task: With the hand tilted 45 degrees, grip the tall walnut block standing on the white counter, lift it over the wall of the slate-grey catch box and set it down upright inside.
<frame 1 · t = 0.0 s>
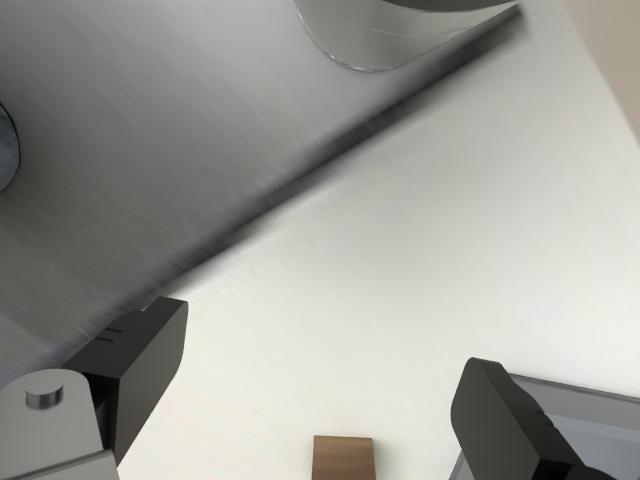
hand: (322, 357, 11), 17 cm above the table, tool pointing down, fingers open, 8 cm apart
catch box: (551, 461, 34), on the table
walnut block: (341, 458, 35), on the table
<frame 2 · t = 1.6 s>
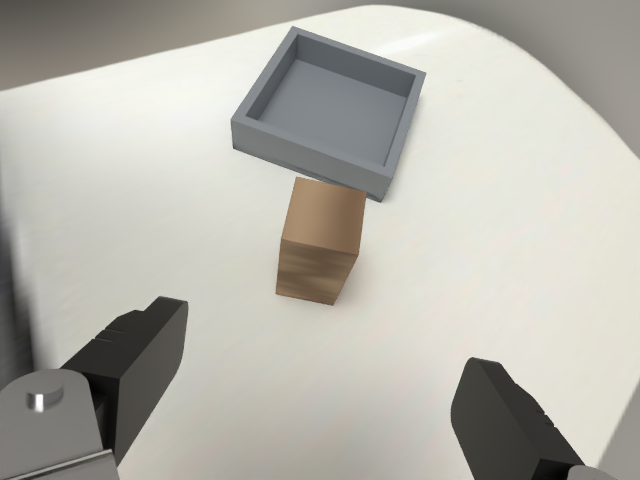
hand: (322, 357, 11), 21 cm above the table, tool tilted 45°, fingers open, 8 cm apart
catch box: (330, 122, 43), on the table
walnut block: (309, 273, 35), on the table
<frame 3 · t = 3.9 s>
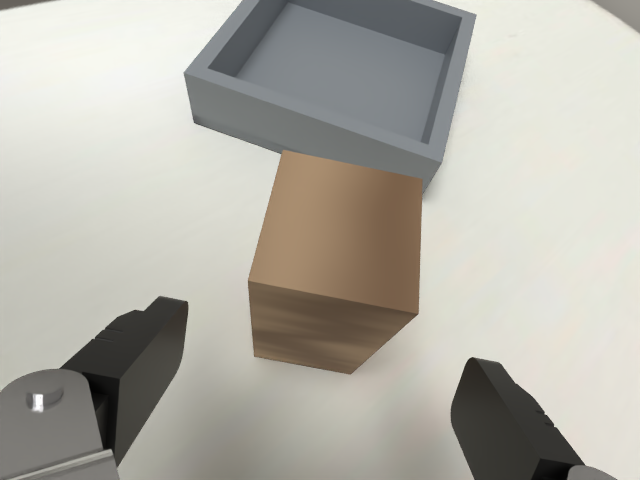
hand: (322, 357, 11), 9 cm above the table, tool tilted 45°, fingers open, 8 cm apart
catch box: (339, 87, 30), on the table
walnut block: (310, 318, 21), on the table
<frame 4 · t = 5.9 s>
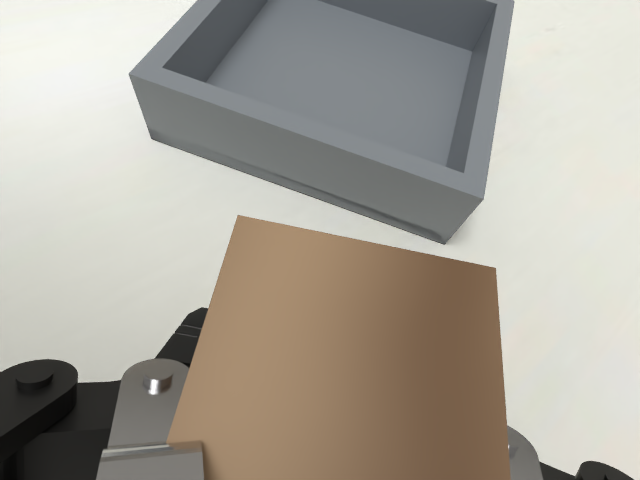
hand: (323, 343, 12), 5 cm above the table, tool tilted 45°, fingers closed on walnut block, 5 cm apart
catch box: (341, 92, 24), on the table
walnut block: (299, 421, 15), on the table, touching gripper
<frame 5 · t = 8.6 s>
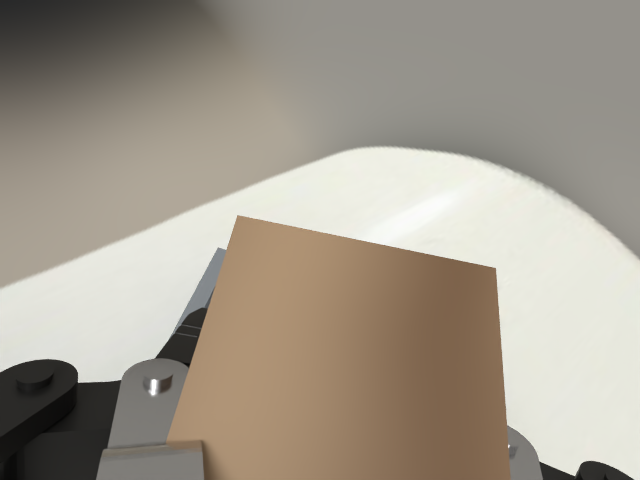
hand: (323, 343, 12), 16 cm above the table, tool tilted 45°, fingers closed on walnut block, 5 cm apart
catch box: (285, 419, 25), on the table
walnut block: (300, 422, 15), point 11 cm above the table, touching gripper
when the fingers open (7 cm above the table, at t = 11.2 s): walnut block drops 2 cm, resting on catch box.
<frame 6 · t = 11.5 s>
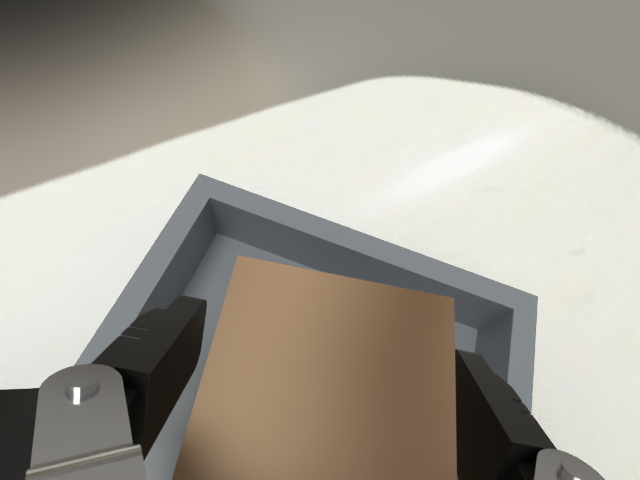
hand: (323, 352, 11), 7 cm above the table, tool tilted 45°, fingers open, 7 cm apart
catch box: (294, 425, 17), on the table
walnut block: (294, 425, 16), point 1 cm above the table, touching catch box
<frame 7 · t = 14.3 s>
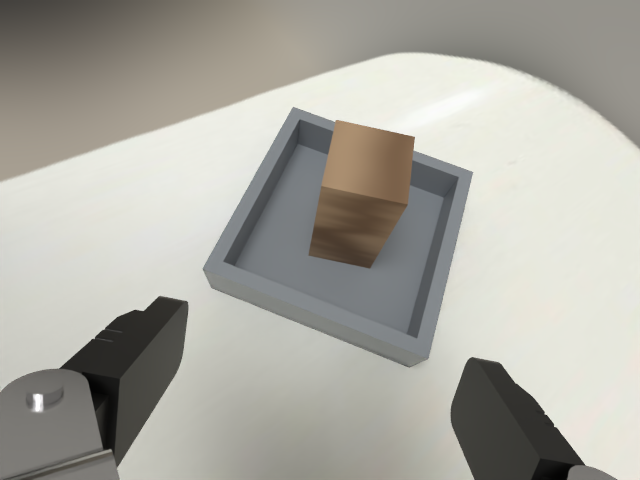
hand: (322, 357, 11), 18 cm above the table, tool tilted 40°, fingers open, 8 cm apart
catch box: (343, 238, 33), on the table
walnut block: (344, 234, 32), point 1 cm above the table, touching catch box
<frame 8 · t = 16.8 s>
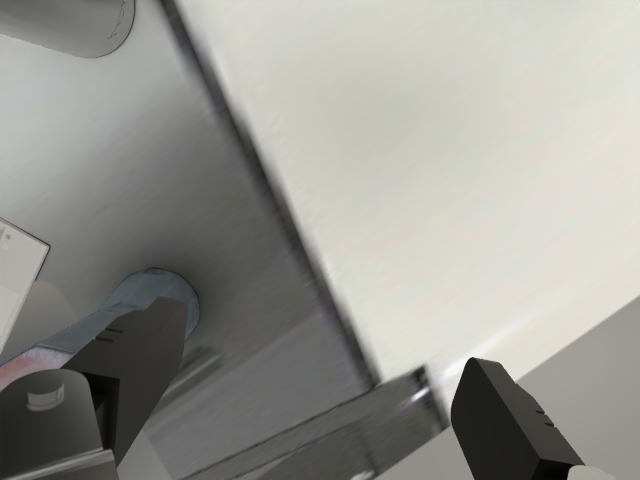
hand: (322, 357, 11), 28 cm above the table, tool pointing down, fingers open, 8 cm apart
moka pot: (160, 309, 42), on the table
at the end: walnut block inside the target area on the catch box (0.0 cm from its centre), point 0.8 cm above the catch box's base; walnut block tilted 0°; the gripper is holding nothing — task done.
